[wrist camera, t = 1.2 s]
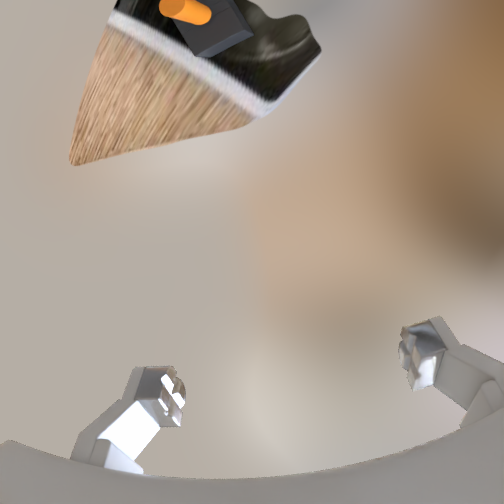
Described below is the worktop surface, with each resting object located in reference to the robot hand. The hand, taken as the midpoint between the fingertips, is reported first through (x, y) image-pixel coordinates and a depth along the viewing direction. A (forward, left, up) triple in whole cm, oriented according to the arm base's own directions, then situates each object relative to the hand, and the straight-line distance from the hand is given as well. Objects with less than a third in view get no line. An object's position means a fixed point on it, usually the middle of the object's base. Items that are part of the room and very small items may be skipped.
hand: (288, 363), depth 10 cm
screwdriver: (-22, -5, -43) cm, 48 cm away
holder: (-22, -5, -43) cm, 48 cm away
